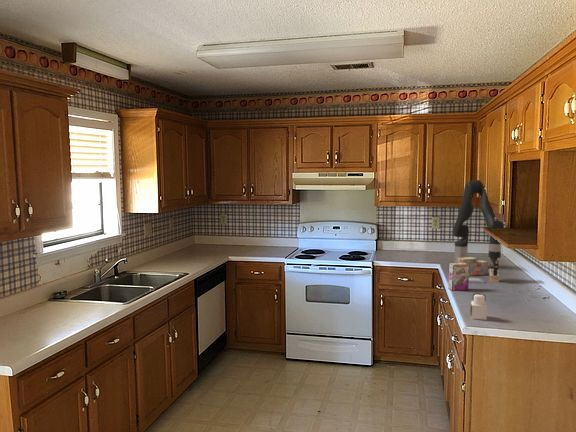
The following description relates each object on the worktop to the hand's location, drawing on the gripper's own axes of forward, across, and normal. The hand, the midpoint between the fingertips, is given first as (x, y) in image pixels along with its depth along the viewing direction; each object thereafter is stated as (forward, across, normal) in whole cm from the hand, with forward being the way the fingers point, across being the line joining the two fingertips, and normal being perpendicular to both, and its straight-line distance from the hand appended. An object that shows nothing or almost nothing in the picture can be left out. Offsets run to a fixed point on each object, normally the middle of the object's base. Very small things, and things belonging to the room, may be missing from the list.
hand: (493, 274), depth 319 cm
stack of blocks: (+5, -20, -11) cm, 23 cm away
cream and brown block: (+5, 0, 0) cm, 5 cm away
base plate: (+5, +2, -13) cm, 14 cm away
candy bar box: (+5, +29, -26) cm, 39 cm away
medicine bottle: (+6, +87, -23) cm, 90 cm away
